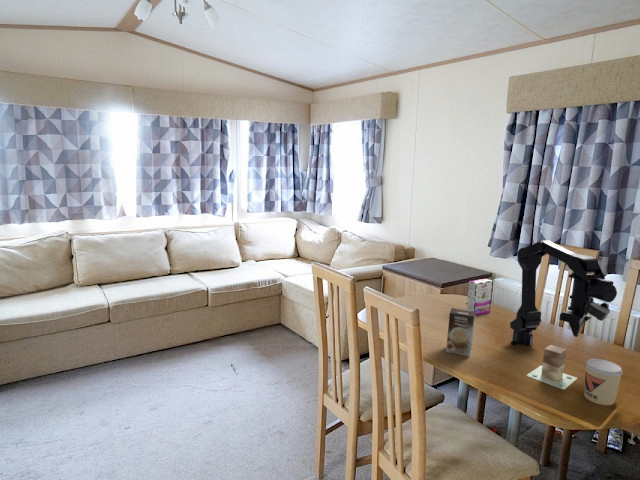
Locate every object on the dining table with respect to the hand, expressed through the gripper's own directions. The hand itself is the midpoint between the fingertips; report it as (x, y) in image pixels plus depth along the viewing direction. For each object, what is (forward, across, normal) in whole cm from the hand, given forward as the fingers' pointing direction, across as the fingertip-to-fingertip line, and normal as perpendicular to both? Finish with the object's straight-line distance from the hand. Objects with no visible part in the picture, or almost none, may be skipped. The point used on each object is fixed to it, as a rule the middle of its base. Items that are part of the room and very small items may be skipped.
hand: (575, 336), depth 152 cm
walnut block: (+7, -12, +2) cm, 14 cm away
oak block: (+12, -12, +2) cm, 17 cm away
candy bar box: (+13, +30, +52) cm, 62 cm away
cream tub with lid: (+13, -15, -13) cm, 24 cm away
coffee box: (+13, -17, +34) cm, 40 cm away
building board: (+13, -12, +2) cm, 18 cm away
